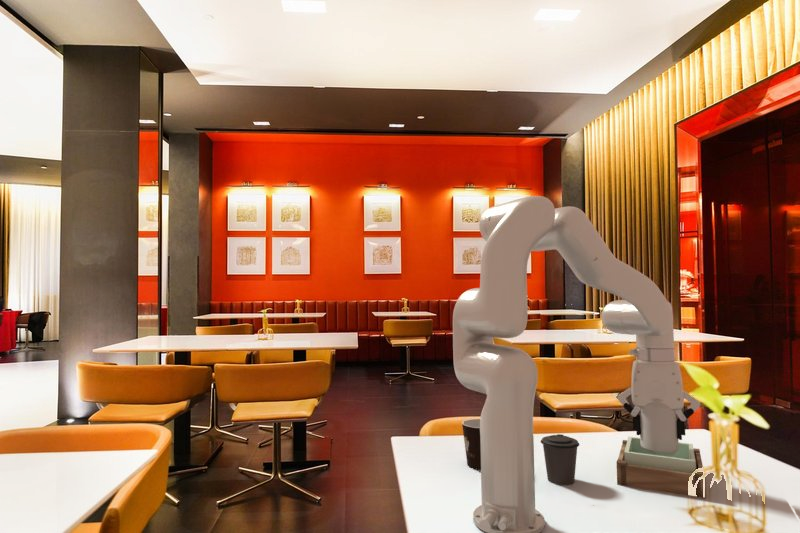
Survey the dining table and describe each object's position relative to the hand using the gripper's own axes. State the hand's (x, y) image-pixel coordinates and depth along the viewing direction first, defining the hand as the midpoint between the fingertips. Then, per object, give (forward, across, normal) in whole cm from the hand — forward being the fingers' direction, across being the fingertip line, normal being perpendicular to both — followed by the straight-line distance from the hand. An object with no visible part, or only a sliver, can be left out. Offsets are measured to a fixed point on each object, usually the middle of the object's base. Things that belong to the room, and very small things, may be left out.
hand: (658, 435), depth 109 cm
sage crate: (+9, 0, 0) cm, 9 cm away
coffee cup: (+10, -19, -12) cm, 25 cm away
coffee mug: (+10, -38, -10) cm, 41 cm away
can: (+4, 0, 0) cm, 4 cm away
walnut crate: (+10, 0, 0) cm, 10 cm away
